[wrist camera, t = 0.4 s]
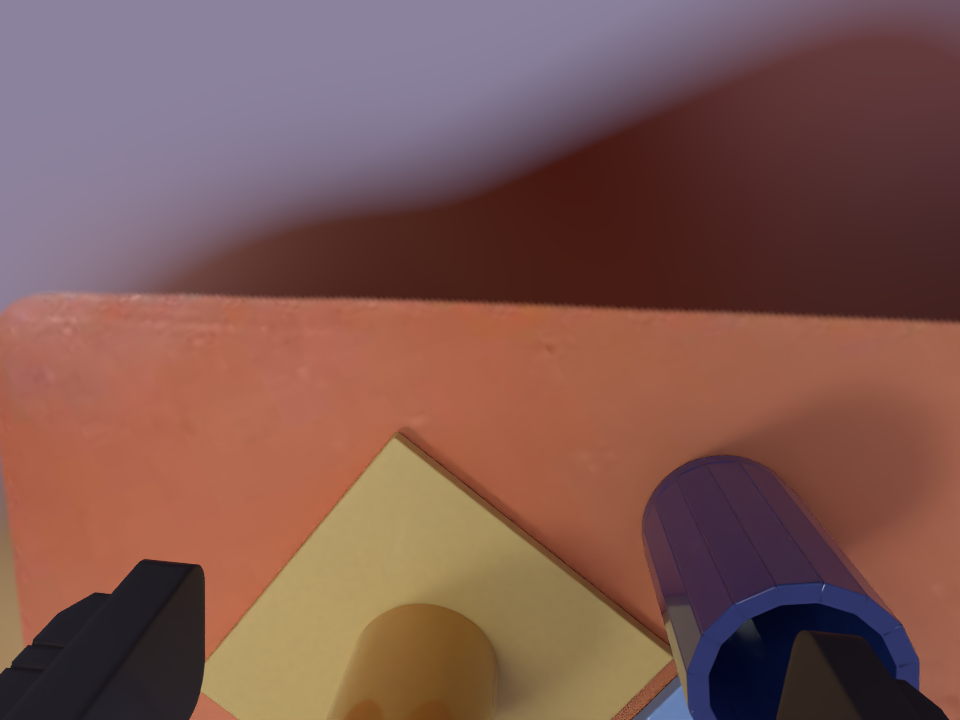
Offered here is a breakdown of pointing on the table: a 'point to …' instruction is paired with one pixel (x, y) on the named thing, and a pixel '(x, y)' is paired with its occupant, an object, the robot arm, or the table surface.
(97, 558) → the table surface
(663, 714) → the blue mat
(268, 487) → the table surface
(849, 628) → the navy cup
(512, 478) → the table surface
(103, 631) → the robot arm
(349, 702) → the glossy amber cylinder
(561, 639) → the mustard mat
